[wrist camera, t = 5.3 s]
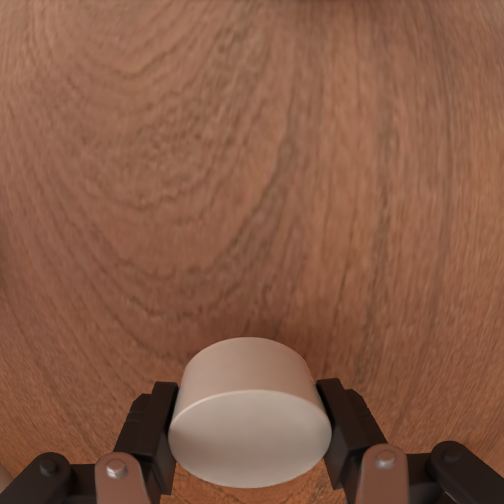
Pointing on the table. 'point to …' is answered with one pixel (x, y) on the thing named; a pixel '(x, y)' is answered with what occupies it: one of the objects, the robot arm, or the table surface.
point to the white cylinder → (248, 415)
